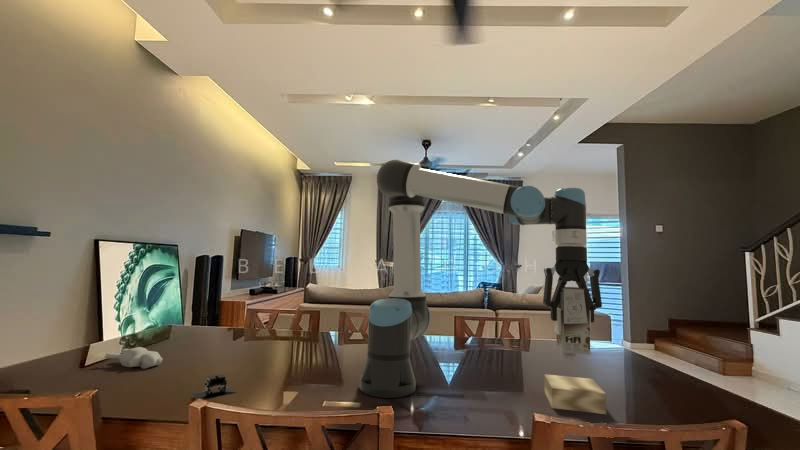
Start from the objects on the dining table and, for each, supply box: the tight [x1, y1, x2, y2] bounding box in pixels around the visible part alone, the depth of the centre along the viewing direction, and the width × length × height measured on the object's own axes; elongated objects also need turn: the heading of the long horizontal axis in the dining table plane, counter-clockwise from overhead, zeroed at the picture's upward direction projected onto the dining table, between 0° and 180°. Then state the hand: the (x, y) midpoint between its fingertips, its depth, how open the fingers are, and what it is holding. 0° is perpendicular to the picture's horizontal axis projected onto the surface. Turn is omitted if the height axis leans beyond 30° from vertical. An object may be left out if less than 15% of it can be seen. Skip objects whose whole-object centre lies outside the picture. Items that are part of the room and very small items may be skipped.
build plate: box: [191, 373, 238, 400], centre depth 92 cm, size 12×7×5 cm, turn 129°
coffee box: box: [556, 286, 591, 356], centre depth 96 cm, size 9×6×16 cm
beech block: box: [543, 373, 607, 415], centre depth 94 cm, size 12×12×5 cm
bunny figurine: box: [103, 346, 164, 370], centre depth 112 cm, size 10×5×15 cm
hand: (572, 334), depth 95 cm, fingers closed on coffee box, 7 cm apart
